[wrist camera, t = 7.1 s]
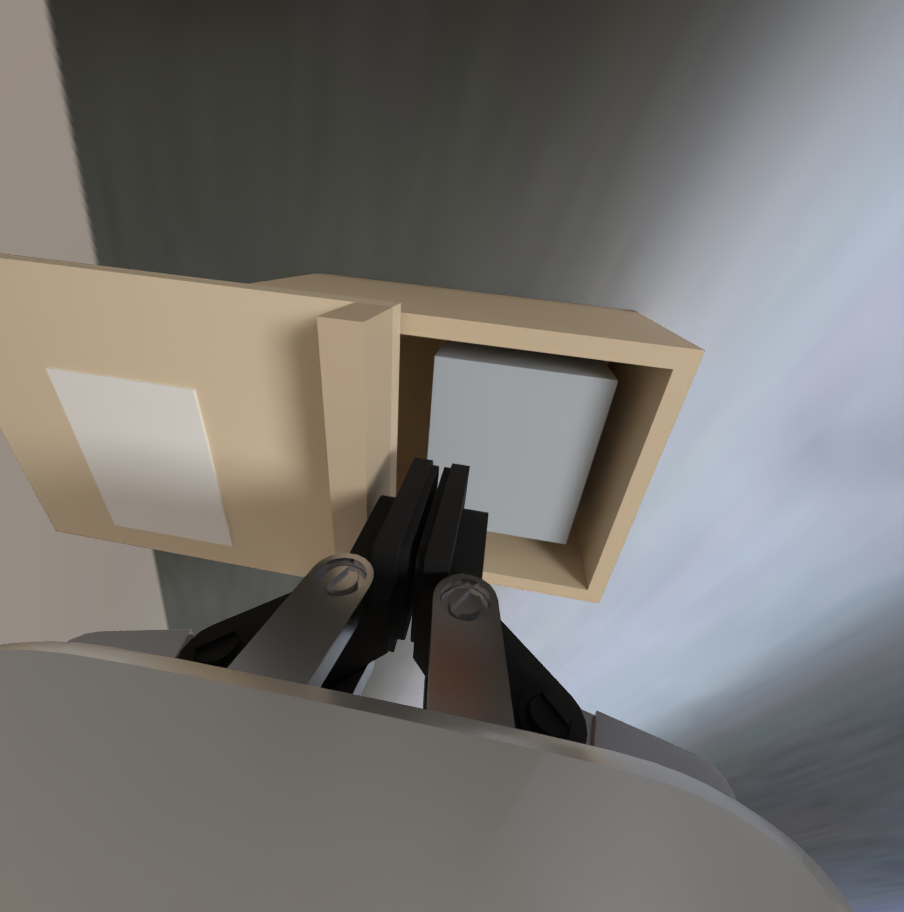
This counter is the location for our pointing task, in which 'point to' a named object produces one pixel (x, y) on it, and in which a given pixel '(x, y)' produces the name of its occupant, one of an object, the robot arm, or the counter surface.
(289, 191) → the counter surface
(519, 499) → the mailer box
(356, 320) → the lid
